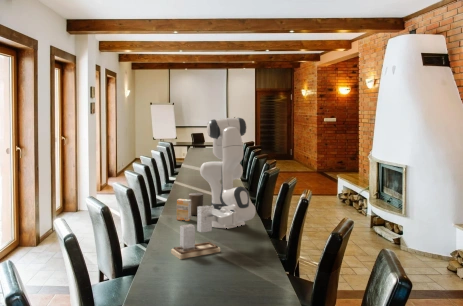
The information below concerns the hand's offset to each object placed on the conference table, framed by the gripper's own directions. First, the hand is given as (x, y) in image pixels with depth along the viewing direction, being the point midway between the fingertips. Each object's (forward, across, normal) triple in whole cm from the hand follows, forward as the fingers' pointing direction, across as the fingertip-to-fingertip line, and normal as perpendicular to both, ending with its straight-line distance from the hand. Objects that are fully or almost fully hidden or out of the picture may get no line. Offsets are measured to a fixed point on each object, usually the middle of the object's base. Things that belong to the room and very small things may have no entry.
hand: (203, 217), depth 216 cm
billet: (+8, 0, +15) cm, 17 cm away
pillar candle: (-33, -70, +17) cm, 79 cm away
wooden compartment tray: (+4, 0, +17) cm, 17 cm away
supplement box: (-19, -60, +17) cm, 65 cm away
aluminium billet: (-1, 0, +6) cm, 7 cm away
